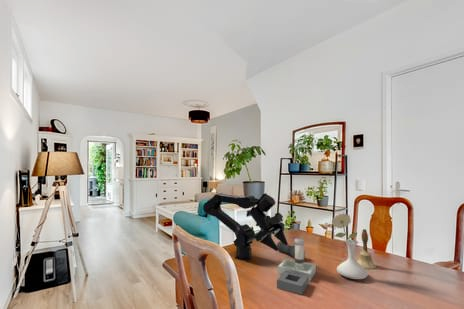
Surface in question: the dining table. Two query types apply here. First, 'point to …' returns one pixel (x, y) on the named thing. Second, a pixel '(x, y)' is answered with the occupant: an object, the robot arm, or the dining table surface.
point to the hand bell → (365, 254)
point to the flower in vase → (350, 265)
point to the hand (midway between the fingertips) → (282, 247)
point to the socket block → (292, 282)
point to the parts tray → (290, 267)
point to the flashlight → (287, 249)
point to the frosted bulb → (299, 253)
